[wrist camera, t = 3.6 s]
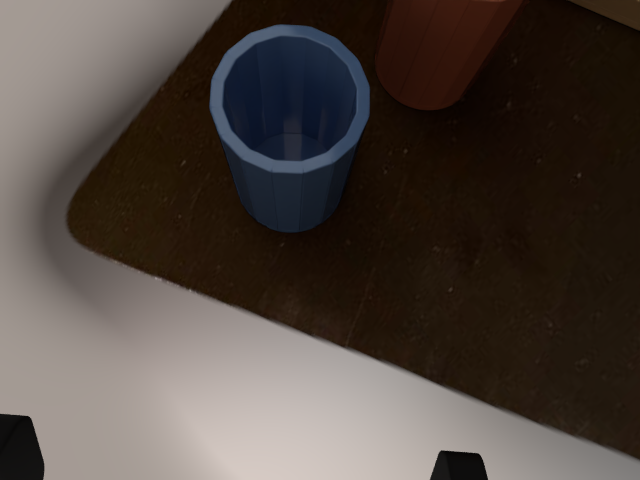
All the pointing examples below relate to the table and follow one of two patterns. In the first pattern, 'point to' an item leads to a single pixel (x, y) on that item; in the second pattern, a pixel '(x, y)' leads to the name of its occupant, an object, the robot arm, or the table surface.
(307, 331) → the table surface
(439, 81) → the red cup
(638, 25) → the tray
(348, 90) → the blue cup
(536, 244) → the table surface
